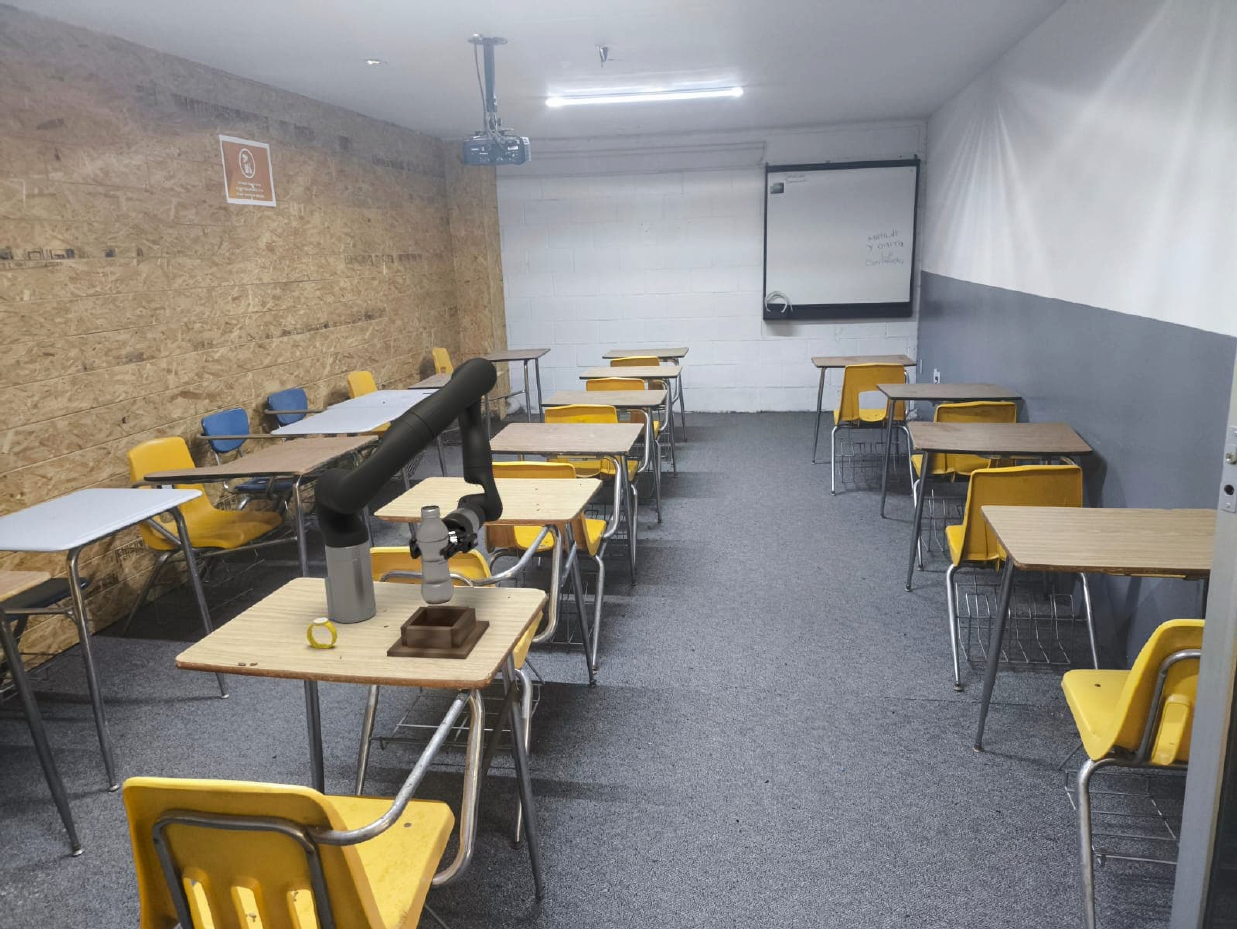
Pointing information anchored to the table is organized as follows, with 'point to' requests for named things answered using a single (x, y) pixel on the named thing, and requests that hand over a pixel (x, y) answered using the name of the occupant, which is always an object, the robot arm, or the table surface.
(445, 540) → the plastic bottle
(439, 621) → the bottle rack
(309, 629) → the watch
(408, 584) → the table surface
